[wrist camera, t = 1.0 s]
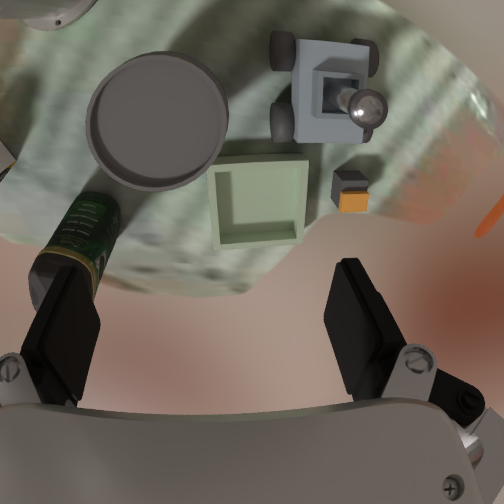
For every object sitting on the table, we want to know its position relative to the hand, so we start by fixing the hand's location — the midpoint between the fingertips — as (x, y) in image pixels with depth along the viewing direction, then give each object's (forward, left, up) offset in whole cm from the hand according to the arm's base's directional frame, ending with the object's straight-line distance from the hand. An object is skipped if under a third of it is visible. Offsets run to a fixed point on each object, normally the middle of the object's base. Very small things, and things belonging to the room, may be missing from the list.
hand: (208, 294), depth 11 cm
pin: (-3, +14, -26) cm, 29 cm away
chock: (+11, +19, -32) cm, 39 cm away
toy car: (-3, +14, -32) cm, 35 cm away
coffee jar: (+14, -18, -33) cm, 40 cm away
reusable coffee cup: (-2, -4, -33) cm, 33 cm away
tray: (+13, +6, -32) cm, 35 cm away
